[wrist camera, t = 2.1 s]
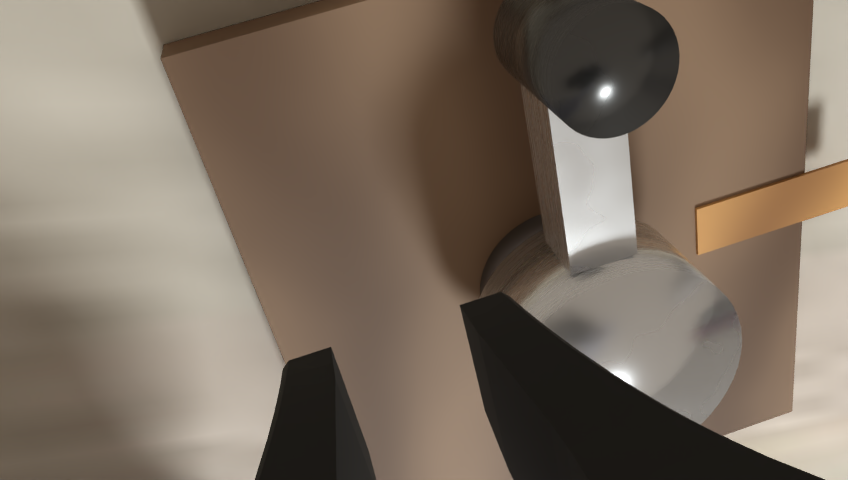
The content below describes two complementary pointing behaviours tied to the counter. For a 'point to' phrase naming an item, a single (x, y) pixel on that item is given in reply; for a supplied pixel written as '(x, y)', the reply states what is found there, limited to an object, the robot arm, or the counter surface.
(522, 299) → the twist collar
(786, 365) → the lock base
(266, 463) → the robot arm
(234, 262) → the counter surface
